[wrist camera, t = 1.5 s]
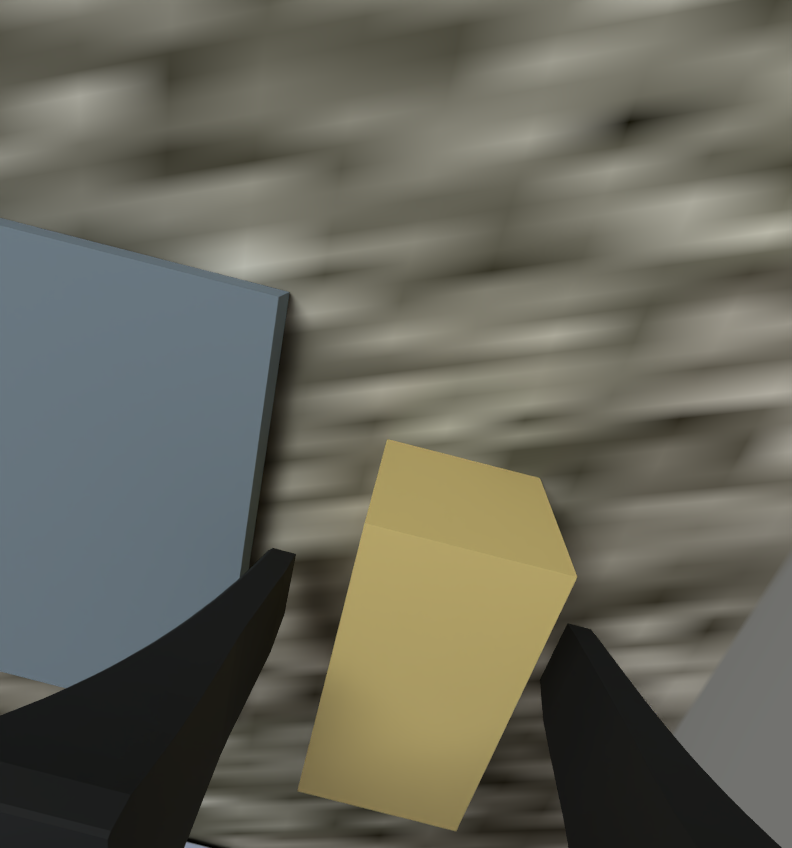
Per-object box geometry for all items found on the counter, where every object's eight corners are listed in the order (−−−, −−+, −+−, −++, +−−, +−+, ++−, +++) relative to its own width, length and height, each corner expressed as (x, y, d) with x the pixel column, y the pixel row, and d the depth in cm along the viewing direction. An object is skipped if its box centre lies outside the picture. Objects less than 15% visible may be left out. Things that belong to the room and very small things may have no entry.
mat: (228, 704, 17) (218, 727, 16) (-116, 617, 17) (-142, 635, 16) (289, 291, 11) (278, 296, 11) (-218, 162, 11) (-265, 157, 11)
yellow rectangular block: (453, 689, 16) (456, 831, 12) (332, 658, 16) (297, 790, 12) (538, 474, 13) (576, 576, 9) (387, 436, 13) (364, 522, 9)
